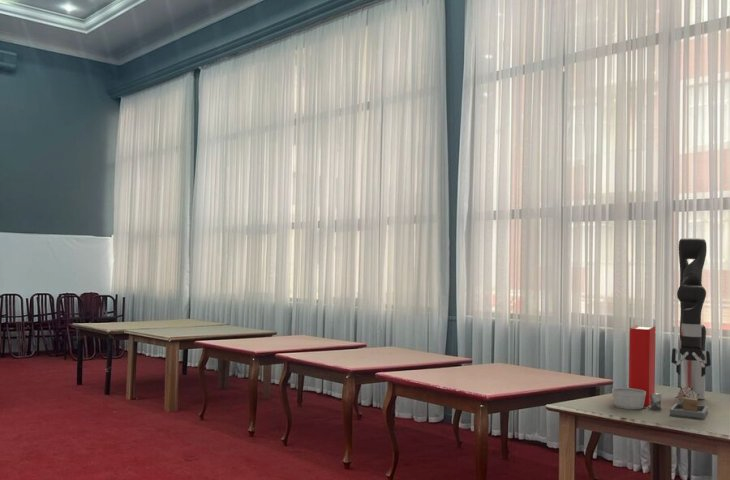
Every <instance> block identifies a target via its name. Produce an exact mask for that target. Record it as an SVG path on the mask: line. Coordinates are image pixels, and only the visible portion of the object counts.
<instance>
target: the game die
mask: <svg viewBox="0 0 730 480" xmlns="http://www.w3.org/2000/svg"><path fill="white" fill-rule="evenodd" d="M679 388H680V390H679V392H678V394H677V396H675V399H678V400H679V401H681V403H683V398H684V397H688V398H697V396H698V395H700V394H696V393H695V392H694V391H693V390H692V389H693V388H692V389H691V388H690V386H689V388H683V387H682V386H679Z"/></svg>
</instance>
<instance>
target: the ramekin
mask: <svg viewBox="0 0 730 480" xmlns="http://www.w3.org/2000/svg"><path fill="white" fill-rule="evenodd" d="M611 392H612V398H613V399H612V401H613V404H614V406H615V408H620V409H623V408H624V409H625V410H642V409H644V407H645V406H644V403H645V395H646V391H643V390H639V389H633V388H629V387H614V388H612V389H611Z"/></svg>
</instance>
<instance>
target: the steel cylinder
mask: <svg viewBox="0 0 730 480" xmlns="http://www.w3.org/2000/svg"><path fill="white" fill-rule="evenodd" d="M650 409H652V410H662V393H660V392H659V393H658V392H657V393H656V392H655V393H651V403H650Z"/></svg>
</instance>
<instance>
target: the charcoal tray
mask: <svg viewBox="0 0 730 480" xmlns="http://www.w3.org/2000/svg"><path fill="white" fill-rule="evenodd" d="M708 413H709V406H708V405H700V404H698V412H693V411H684V410H683V403H682V402H681V403H680V402H675V403H674V405H672V406H671V408H670V409H669V416H670V417H677V418H685V419H686V418H687V419H695V420H701V421H702V420H705V419H706V417H707V415H708Z"/></svg>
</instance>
